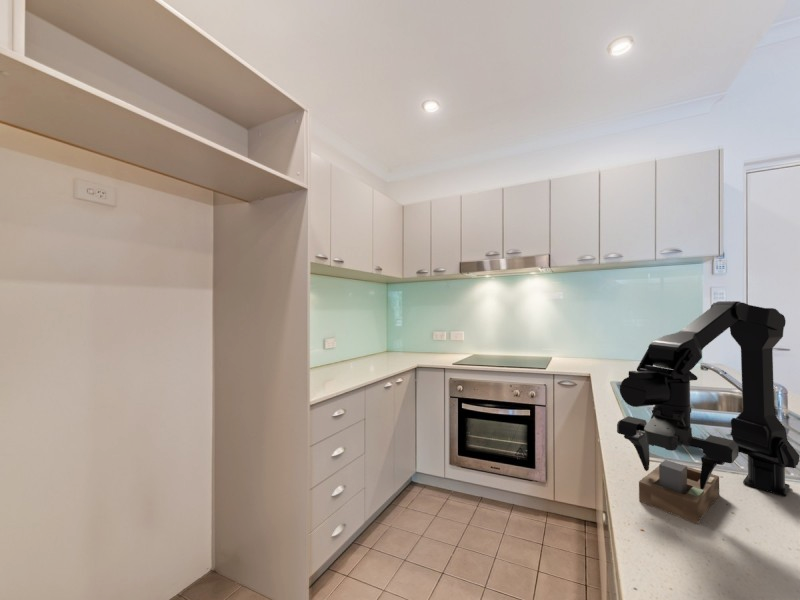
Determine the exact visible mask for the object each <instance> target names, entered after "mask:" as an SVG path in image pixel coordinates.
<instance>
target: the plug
mask: <svg viewBox="0 0 800 600" xmlns="http://www.w3.org/2000/svg"><path fill="white" fill-rule="evenodd" d="M658 466H659V486H661V487H664V488H667V489H670V490H673V491H676V492H678V493H681V494H684V495H685V494H686V493H687V467H688V466H687V465H684V464H681V463H677V462H674V461H672V460H667V459H664V460H663V461H661V462H660V464H658Z"/></svg>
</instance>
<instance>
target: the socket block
mask: <svg viewBox="0 0 800 600" xmlns="http://www.w3.org/2000/svg"><path fill="white" fill-rule="evenodd" d="M700 476H701V470H700V469H696V468H693V467H689V466H687V493H686V494H685V495H684V494H681V493H678V492H676V491H673V490H670V489H667V488H664V487H661V486H659V465H658V466H657V467H656V468H654V469H653V470H652V471H650V472H649V473H648V474H647V475H646V476H644V477H643V478H642V479H640V480H639V481H638V501H639V502H641V503H644V504H646V505H648V506H651V507H654V508H656V509H659V510H661V511H663V512H667V513H669V514H671V515H673V516H677V517H679V518H681V519H684V520H686V521H689V522H691V523H693V524H697V525H698V524H699V522H700V521H701V520H702V519H703V518H704V516H705V515H706V514H707V512H708V511H709V509H710V508H711V507H712V505H713V504H714V503H715V502H716V500H717V499H718V498H719V497H720V475H716V474H713V473H711V475H710V477H709V479H708V481H707V484H706V486H705V488H704V489H700Z"/></svg>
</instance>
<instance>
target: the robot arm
mask: <svg viewBox="0 0 800 600" xmlns="http://www.w3.org/2000/svg"><path fill="white" fill-rule="evenodd" d="M786 322H787V321H786V317H785V316H784V314H783V313H780V312H779V310H777V309H776V308H774V307H773V308H772V307H762V306H756V305H750V304H747V303H745V302H741V301H740V300H739V301H736V300H735V301H726V300H725V301H719V300H718V301H716V302H713V303H712V304H711V305H710V308H709V309H707V310H706V311H705V312H703V313H702V314H701V315H699V316H698V317H697V318H695V319H694V320H693V321H691V322H690V323H689V324H687V325H686V326H685V327H683V329H681V330H679V331H677V332H674V333H670V334H666V335H665V334H664V335H662V336H659V338H657V339H654V340H653V341H652V342H650V344H649V345H648V346H647V348H648V349H647V350H646V352H645V353H644V355H643V357H642V358H641V360H640V362H639V364H638V365H637V368H636V370H629V371H628V377H624V378H623V380H622V381H621V383H620V385H619V393H620V395H621V398H622V400H623V401H624V403H626V405H627V404H628V406H631V407H633V408H639V407H648V406H649V407H650V406H652V414H651V417H650V418H649V419H648V421H647V420H646V419H642V418H637V417H634V416H628V415H627V416H626V417H624V418H622V419H620V420H619V421H617V423H616V432H617V434H619V435H622V436H623V438H624V439H626V440H627V441H629V442H630V443H632V445H633V446H634V448H635V450H636V452H637V454H638V455H637V456H638V457H639V460H640V462H641V464H642V468H643V469H644V471H645V472H648V471H649V470H650V446H653V447H654V446H655V447H658V448H663V449H665V450H667V451H671V452H672V451H675V450H677V449H678V446H680V447H681V446H685V447H693V448H696V449H700V450H702V453H703V454H704V455H702V457H700V460H701V468H700V469H701V470H700V471H701V476H700V489H704V488H705V486H706V484H707V481H708V479H709V477H710V475H711V474H713V471H714V469H715V468H716V466H717V465H719V466H723V465H724V464H725V463H727V464H733V463H734V462H735V460H736V459H737V458H738V457H739V453H741V454H743V455H746V456H747V475H746V476H745V478H744V479H743V481H742V483H743V484H744V485H746V486H749V487H753V488H756V489H759V490H763V491H766V492H769V493H773V494H776V495H779V496H783V497H786V496H787V495H788V492H789V490H790V487H791V485H790V484H789V483H786V471H785V470H786V468H789V469H790V468H791V469H796V468H797V466H798V465H799V462H800V454H799V453H798V452H797V450H796V449H795V448H794V447H793V446H792V443H790V441H788V435H787V429H786V427H785V426H784V425H783V424H782V422H781V421H780V420H779V418H778V417H777V416H776V415H775V392H774V390H775V387H774V357H773V354H774V352H773V350H774V347H775V346H776V345H777V344H778V343H779V342H780V341H781V340H782V338H783V337H784V329H785V326H786ZM728 329H729V330H730V335H731V337H732V338H733V340H735V342H736V344H738V346H739V347H740V364H741V365H740V366H741V369H740V370H741V389H742V390H741V393H742V394H741V397H742V399H741V400H742V401H741V402H742V411H741V412H740V413H739V414H738V415H737V416H736V417H732V418H731V419H730V425H731V428H730V429H731V430H730V436H731V438H732V439H728V438H724V437H721V436H716V435H713V434H712V435H711V434H710V435H709V436H708V437H706V438H701V437H697V436H693V431H692V426H691V413H692V406H691V381H697V380H698V378H699V377H698V376H697V375H696V374H694V373H693V372H691V370H693V369H694V368H695V367H696V366H697V364H699V362H700V361H701V360H702V359H703V350H704V348H705V347H706V346H708V345H709V344H710V343H711V342H713V341H714V340H716V339H717V338H718V337H720V335H721V334H723V333H724V332H725V331H726V330H728ZM653 405H655V406H654V407H653Z"/></svg>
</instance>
